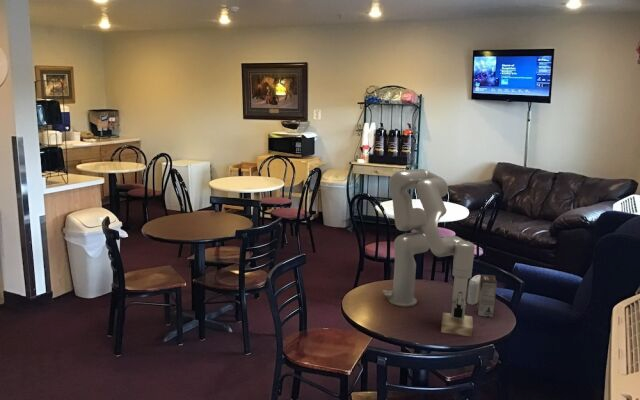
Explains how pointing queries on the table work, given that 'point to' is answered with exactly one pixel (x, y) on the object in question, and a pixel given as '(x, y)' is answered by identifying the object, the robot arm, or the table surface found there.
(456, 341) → the table surface
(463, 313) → the sage block
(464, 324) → the maple base
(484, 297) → the coffee box
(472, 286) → the photo printer
